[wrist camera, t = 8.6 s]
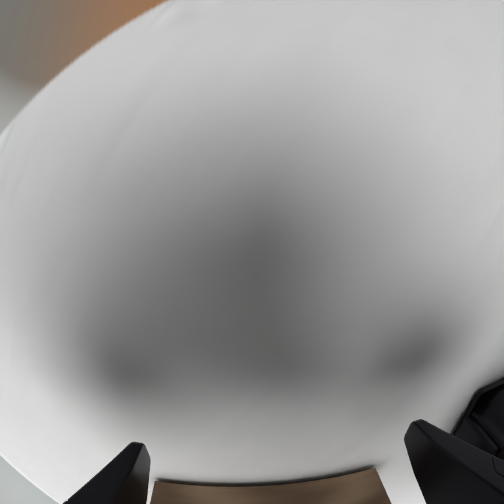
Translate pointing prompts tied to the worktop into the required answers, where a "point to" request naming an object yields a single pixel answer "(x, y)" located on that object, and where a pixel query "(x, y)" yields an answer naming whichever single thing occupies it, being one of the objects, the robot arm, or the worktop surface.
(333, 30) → the worktop surface
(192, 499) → the brown wooden frame
